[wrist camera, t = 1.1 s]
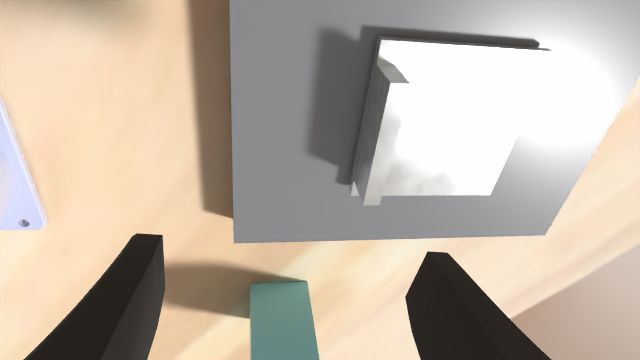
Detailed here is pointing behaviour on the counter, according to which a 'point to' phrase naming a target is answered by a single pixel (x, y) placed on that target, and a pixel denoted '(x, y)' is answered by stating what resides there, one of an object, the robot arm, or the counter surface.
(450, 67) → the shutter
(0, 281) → the counter surface
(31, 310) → the counter surface
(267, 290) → the plug
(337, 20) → the socket plate
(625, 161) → the counter surface
